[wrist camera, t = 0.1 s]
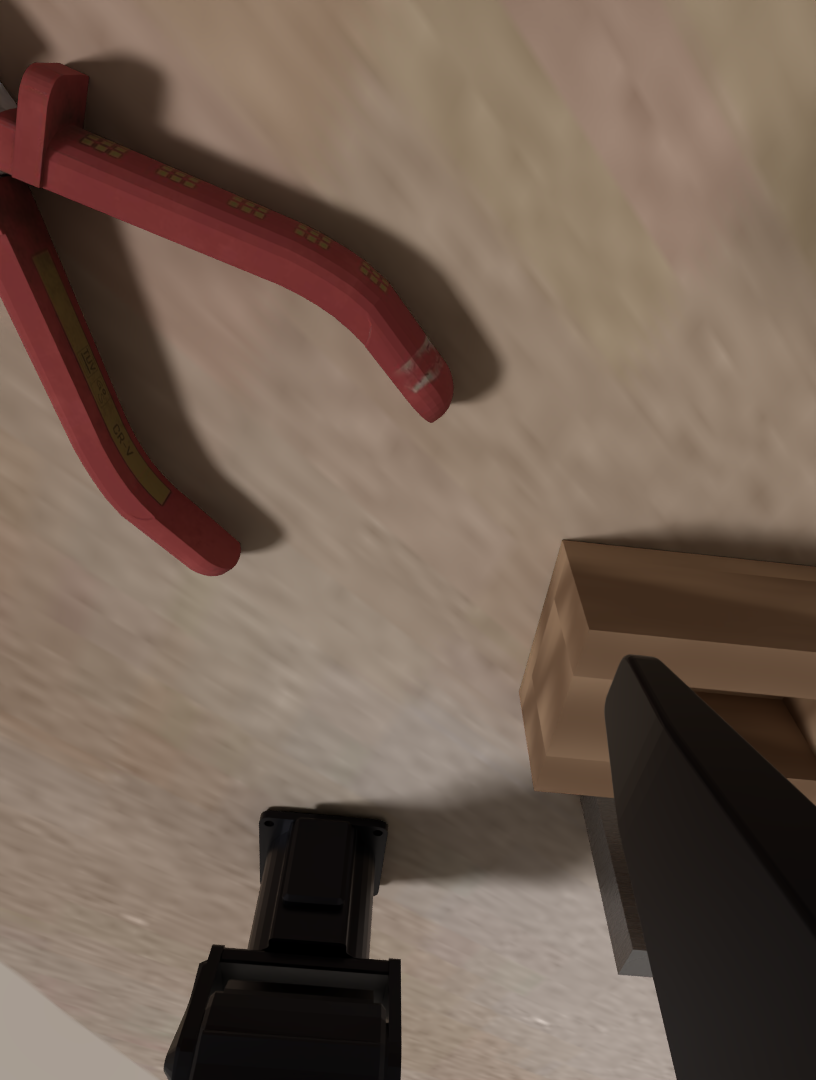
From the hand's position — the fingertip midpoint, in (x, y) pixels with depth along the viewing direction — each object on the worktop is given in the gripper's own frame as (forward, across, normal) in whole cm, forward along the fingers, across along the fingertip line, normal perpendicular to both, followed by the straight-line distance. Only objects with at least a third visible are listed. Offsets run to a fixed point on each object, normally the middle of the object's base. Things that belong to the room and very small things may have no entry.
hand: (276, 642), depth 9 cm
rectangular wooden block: (+15, -15, +11) cm, 24 cm away
